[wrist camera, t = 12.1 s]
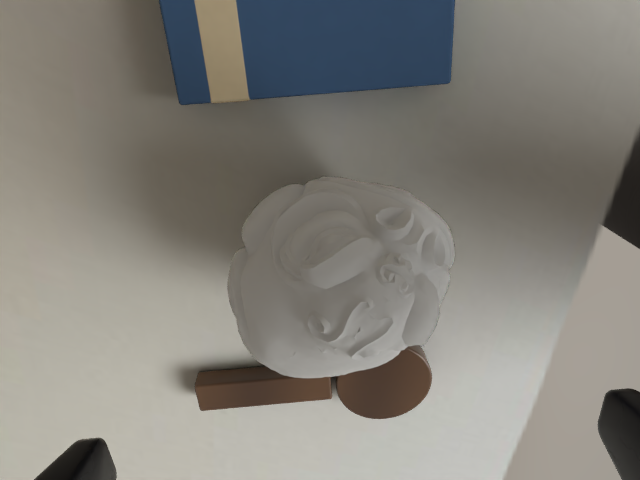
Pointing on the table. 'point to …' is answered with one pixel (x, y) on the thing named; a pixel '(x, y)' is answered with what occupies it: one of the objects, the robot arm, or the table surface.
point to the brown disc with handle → (323, 387)
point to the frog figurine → (338, 276)
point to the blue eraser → (305, 46)
